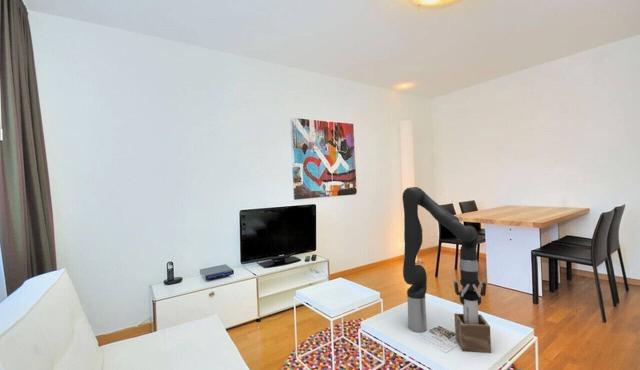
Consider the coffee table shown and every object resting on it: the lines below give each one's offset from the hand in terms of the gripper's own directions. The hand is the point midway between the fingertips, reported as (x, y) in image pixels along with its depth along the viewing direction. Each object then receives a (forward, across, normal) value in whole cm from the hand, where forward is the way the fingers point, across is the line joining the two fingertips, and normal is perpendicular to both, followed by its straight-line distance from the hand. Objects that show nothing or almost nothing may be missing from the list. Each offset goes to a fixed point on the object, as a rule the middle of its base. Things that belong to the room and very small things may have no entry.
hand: (470, 303), depth 139 cm
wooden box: (+19, 0, 0) cm, 19 cm away
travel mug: (+14, 0, 0) cm, 14 cm away
